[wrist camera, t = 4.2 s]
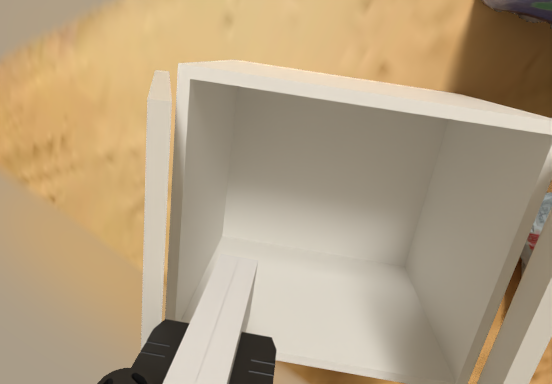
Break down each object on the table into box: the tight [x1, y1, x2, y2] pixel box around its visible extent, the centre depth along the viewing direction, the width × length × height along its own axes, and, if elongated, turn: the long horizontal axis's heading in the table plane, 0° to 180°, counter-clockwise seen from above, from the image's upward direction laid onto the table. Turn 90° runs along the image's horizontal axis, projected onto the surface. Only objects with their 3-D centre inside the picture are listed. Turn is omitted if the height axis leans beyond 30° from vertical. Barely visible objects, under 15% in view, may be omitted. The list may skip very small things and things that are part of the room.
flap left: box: [141, 70, 172, 350], centre depth 16 cm, size 15×8×1 cm
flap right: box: [477, 207, 552, 384], centre depth 16 cm, size 15×8×1 cm
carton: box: [165, 60, 552, 384], centre depth 27 cm, size 16×18×14 cm
